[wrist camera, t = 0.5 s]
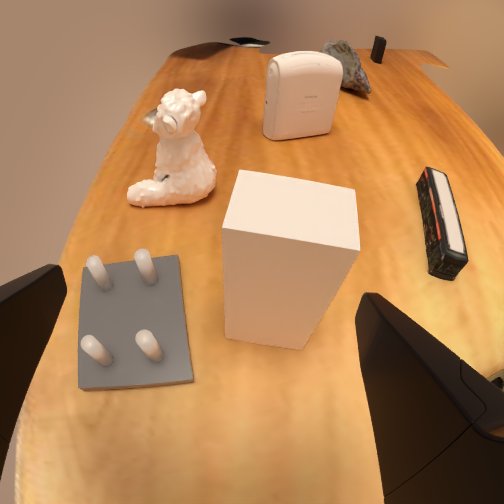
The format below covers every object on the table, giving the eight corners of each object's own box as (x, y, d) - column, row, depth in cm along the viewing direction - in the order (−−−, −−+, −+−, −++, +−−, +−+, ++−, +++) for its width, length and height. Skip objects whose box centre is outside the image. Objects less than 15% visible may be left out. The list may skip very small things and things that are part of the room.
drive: (301, 350, 23) (360, 250, 13) (225, 338, 24) (222, 227, 13) (305, 305, 26) (354, 189, 15) (234, 294, 26) (239, 169, 16)
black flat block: (388, 291, 28) (407, 266, 24) (381, 149, 42) (390, 126, 39) (493, 317, 26) (516, 298, 23) (460, 178, 41) (471, 158, 37)
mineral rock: (370, 102, 52) (383, 57, 44) (317, 92, 52) (326, 45, 43) (355, 78, 59) (365, 40, 51) (309, 70, 59) (316, 30, 51)
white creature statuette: (169, 156, 37) (160, 68, 27) (233, 171, 36) (236, 76, 26) (125, 205, 31) (99, 108, 22) (195, 228, 30) (185, 119, 20)
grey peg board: (194, 382, 21) (186, 366, 18) (83, 390, 20) (56, 375, 16) (179, 261, 28) (172, 228, 24) (87, 273, 26) (69, 243, 22)
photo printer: (269, 144, 39) (280, 57, 29) (257, 128, 42) (264, 47, 32) (333, 135, 42) (352, 59, 32) (318, 121, 44) (333, 49, 34)
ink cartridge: (381, 64, 71) (387, 41, 65) (373, 62, 71) (379, 38, 65) (377, 59, 74) (383, 37, 68) (370, 57, 74) (375, 34, 68)
